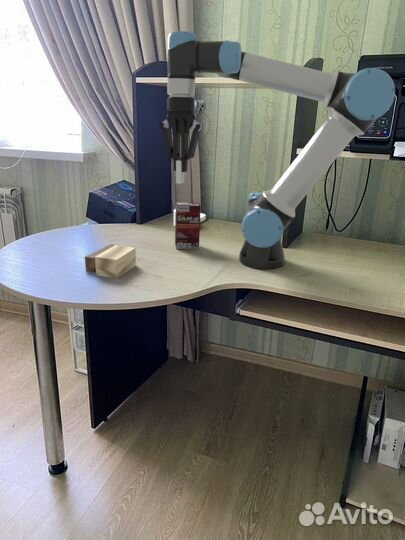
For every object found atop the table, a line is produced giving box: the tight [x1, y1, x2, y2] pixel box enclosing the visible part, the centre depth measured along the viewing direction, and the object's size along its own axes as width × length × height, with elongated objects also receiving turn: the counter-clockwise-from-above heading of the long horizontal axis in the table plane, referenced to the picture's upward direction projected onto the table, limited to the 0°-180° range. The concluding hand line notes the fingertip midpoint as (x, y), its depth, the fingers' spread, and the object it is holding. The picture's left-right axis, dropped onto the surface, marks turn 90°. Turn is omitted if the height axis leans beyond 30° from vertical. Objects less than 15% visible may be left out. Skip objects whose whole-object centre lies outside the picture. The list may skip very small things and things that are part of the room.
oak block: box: [95, 244, 137, 279], centre depth 128 cm, size 7×12×6 cm, turn 162°
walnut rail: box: [84, 243, 120, 273], centre depth 132 cm, size 3×14×4 cm, turn 158°
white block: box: [173, 208, 207, 227], centre depth 183 cm, size 20×9×7 cm, turn 156°
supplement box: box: [174, 202, 202, 250], centre depth 149 cm, size 9×5×16 cm, turn 97°
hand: (180, 182), depth 123 cm, fingers closed
